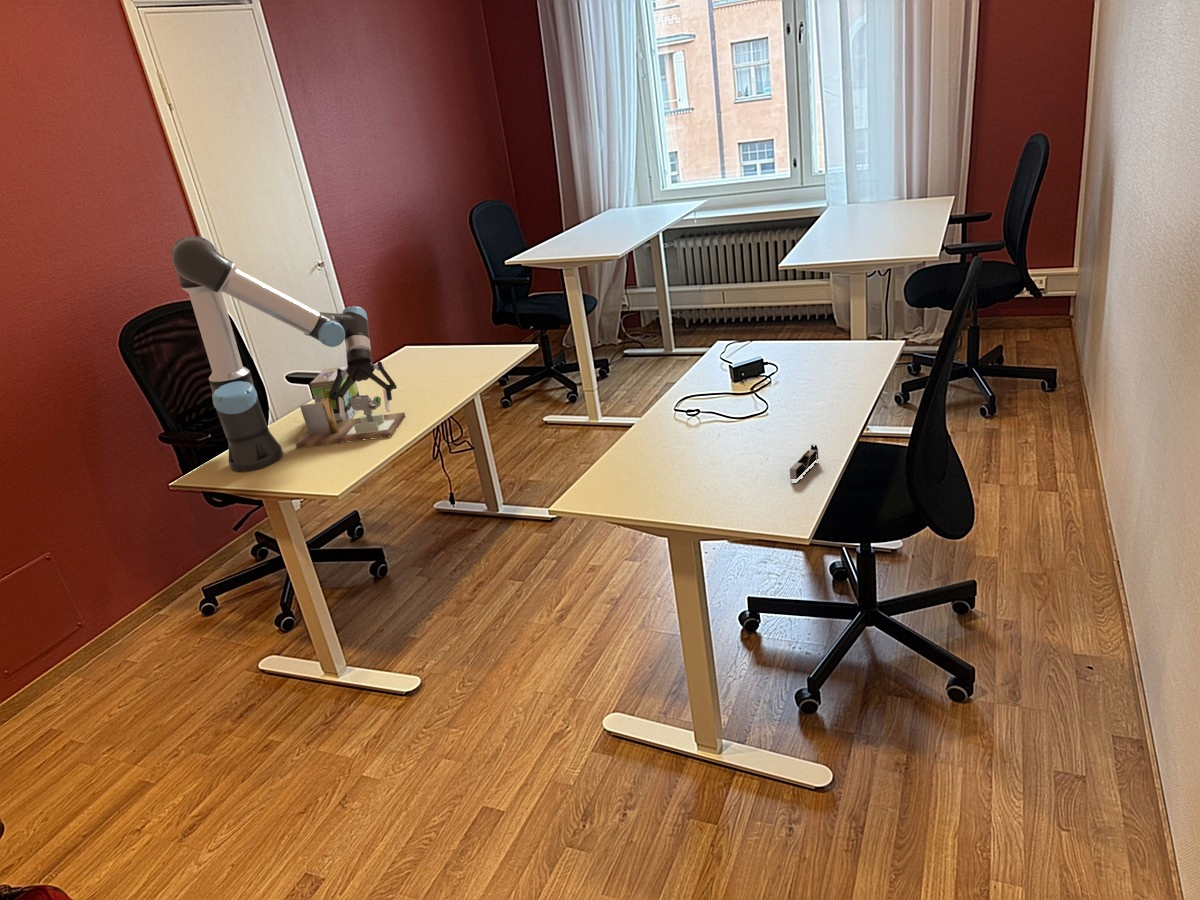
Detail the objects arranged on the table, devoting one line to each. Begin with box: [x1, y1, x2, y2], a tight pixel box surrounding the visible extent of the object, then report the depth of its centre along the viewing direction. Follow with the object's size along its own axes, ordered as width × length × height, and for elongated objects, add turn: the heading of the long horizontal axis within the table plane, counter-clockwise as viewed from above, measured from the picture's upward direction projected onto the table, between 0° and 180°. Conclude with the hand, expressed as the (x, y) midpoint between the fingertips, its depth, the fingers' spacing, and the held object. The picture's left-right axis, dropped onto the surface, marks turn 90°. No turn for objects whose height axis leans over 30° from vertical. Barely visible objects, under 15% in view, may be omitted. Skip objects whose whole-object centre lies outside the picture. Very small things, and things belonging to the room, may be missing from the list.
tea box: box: [309, 366, 360, 421], centre depth 264 cm, size 15×10×15 cm, turn 0°
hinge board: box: [295, 398, 406, 449], centre depth 248 cm, size 30×16×12 cm, turn 88°
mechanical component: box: [348, 394, 382, 422], centre depth 245 cm, size 3×10×10 cm, turn 75°
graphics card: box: [789, 444, 820, 479], centre depth 182 cm, size 12×3×5 cm, turn 142°
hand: (365, 414), depth 243 cm, fingers open, 13 cm apart
